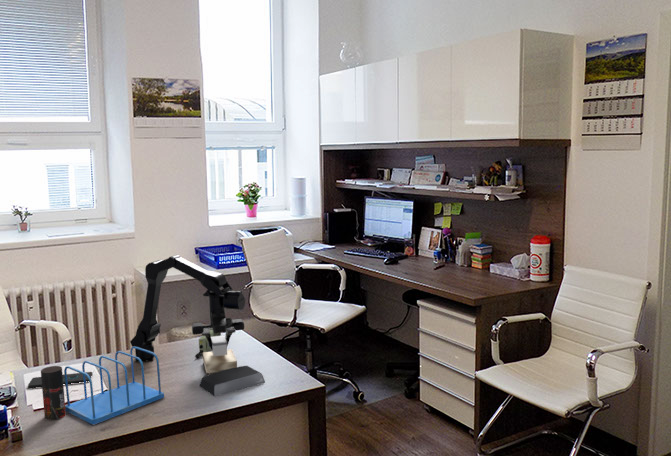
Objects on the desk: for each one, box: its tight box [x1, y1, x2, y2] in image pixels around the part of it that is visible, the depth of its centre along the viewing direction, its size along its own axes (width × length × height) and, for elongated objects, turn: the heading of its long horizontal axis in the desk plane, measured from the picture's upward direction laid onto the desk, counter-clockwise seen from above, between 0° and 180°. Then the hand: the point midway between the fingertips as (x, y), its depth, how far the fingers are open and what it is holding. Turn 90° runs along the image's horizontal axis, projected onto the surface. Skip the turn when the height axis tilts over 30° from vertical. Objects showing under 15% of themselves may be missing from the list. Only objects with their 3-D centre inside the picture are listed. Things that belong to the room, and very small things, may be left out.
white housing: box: [211, 334, 228, 356], centre depth 228 cm, size 5×8×5 cm, turn 17°
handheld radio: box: [194, 330, 222, 359], centre depth 251 cm, size 7×3×25 cm
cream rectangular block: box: [202, 348, 238, 375], centre depth 229 cm, size 11×14×4 cm
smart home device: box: [27, 371, 93, 389], centre depth 218 cm, size 8×2×20 cm
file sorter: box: [63, 346, 165, 426], centre depth 197 cm, size 25×17×15 cm
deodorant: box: [40, 365, 67, 421], centre depth 189 cm, size 6×6×15 cm
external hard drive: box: [199, 365, 266, 397], centre depth 212 cm, size 13×19×4 cm
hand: (218, 348), depth 228 cm, fingers closed on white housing, 5 cm apart
